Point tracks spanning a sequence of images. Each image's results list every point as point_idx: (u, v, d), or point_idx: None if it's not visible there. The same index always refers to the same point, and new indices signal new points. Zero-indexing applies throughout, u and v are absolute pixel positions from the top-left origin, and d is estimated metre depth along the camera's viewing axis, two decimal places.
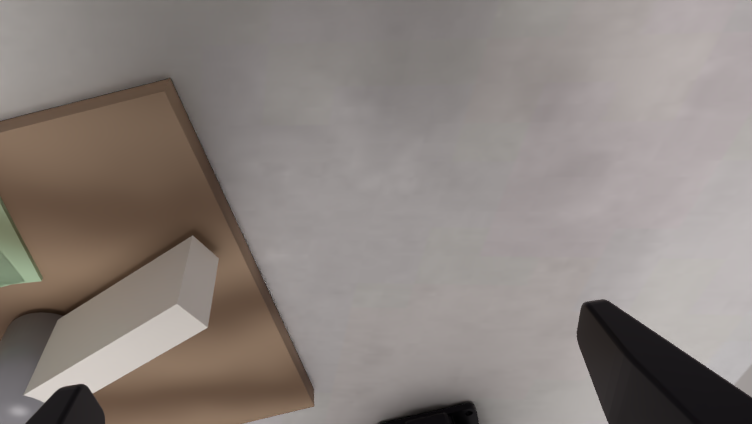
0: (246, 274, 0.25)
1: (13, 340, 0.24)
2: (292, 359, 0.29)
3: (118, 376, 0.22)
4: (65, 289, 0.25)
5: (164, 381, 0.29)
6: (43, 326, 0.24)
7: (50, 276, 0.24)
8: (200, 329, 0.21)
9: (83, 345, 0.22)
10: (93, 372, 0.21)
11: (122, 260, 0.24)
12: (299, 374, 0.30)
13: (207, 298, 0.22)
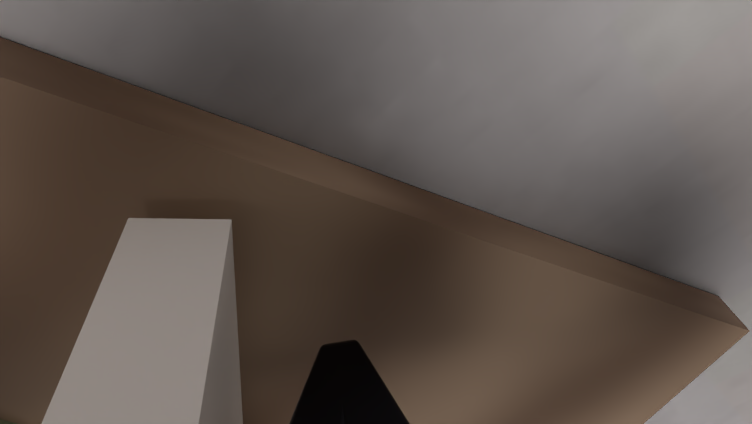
0: (342, 203, 0.10)
1: None
2: (617, 284, 0.12)
3: None
4: None
5: None
6: None
7: None
8: None
9: None
10: None
11: None
12: (661, 299, 0.12)
13: (191, 343, 0.07)
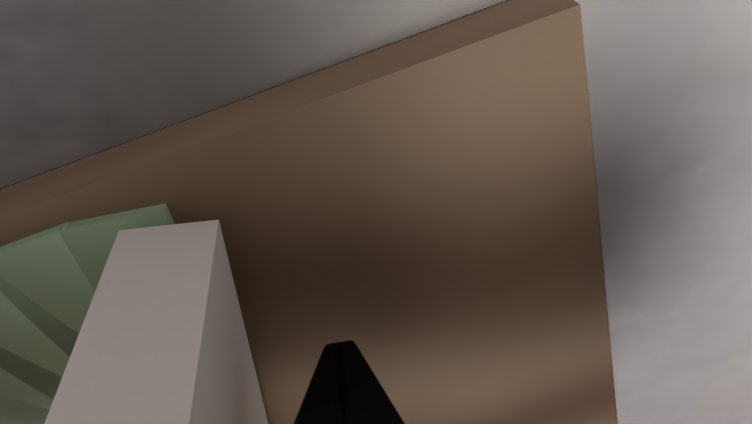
0: (602, 360, 0.14)
1: None
2: None
3: None
4: (292, 420, 0.14)
5: None
6: None
7: (270, 403, 0.13)
8: None
9: None
10: None
11: (400, 362, 0.13)
12: None
13: (181, 344, 0.07)
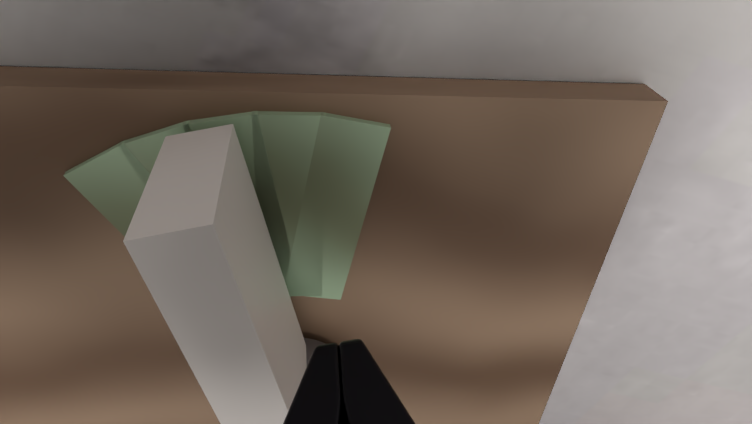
0: (565, 339, 0.20)
1: None
2: None
3: (271, 381, 0.12)
4: (355, 315, 0.18)
5: None
6: None
7: (350, 295, 0.17)
8: (213, 237, 0.10)
9: None
10: (244, 401, 0.13)
11: (449, 294, 0.18)
12: None
13: (209, 185, 0.11)
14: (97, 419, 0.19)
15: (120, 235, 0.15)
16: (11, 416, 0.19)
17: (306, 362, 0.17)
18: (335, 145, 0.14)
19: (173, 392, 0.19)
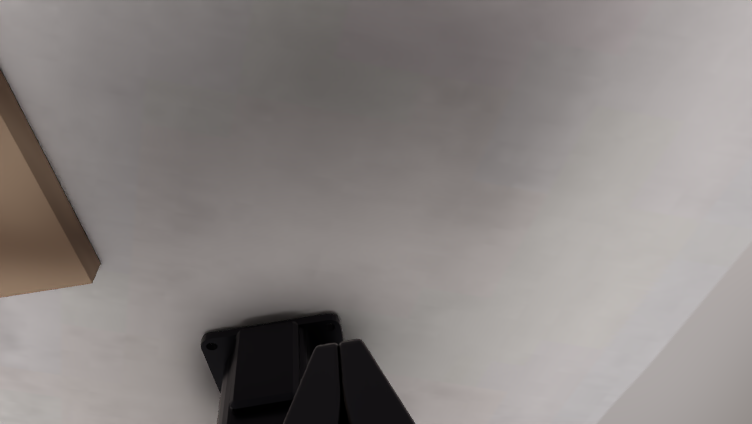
0: None
1: None
2: (45, 193, 0.19)
3: None
4: None
5: None
6: None
7: None
8: None
9: None
10: None
11: None
12: (60, 223, 0.20)
13: None
14: None
15: None
16: None
17: None
18: None
19: None
